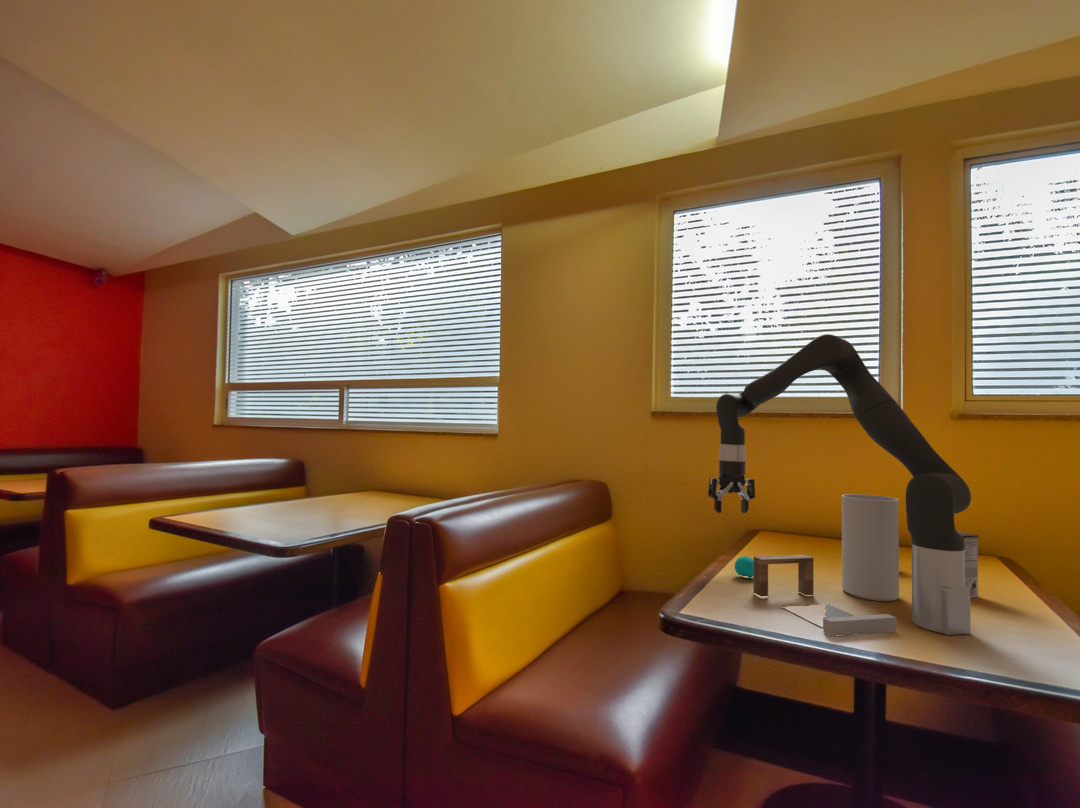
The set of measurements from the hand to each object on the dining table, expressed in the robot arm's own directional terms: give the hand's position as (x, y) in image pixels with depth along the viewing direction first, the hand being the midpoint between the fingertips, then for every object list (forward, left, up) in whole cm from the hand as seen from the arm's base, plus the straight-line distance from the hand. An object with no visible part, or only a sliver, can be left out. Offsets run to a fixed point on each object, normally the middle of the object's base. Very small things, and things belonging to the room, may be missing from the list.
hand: (731, 512), depth 160 cm
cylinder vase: (-28, -22, -17) cm, 40 cm away
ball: (-10, +2, -14) cm, 17 cm away
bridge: (-26, +2, -17) cm, 31 cm away
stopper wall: (-50, +2, -17) cm, 53 cm away
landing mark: (-40, +2, -17) cm, 44 cm away
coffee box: (-30, -46, -17) cm, 58 cm away
